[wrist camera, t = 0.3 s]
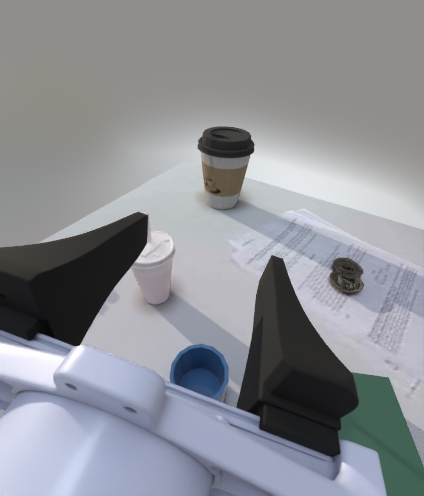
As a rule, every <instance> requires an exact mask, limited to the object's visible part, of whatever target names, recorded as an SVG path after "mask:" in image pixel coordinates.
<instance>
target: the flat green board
mask: <svg viewBox="0 0 424 496" xmlns="http://www.w3.org/2000/svg"><path fill="white" fill-rule="evenodd" d="M351 373H352V372H351ZM352 374H353V377H354V380H355V384H356V388H357V393H358V399H359V404H358V407H357V408H356V409H355V410H353V411H352V412H350V413H349V414H347V415H345V416H343V417H342V418H340V420H341V430H338V437H339V440H348V441H351V442H354V443H356V444H359V445H362V446H364V447H367V448H370V449H372V450H375V451H376V452H377V453H378V455H379V460H380V465H381V470H382V475H383V479H384V484H385V489H386V494H387V496H424V467H423V464H422V462H421V459H420V456H419V454H418V451H417V449H416V446H415V444H414V441H413V439H412V436H411V434H410V431H409V428H408V426H407V423H406V421H405V418H404V416H403V413H402V411H401V408H400V405H399V403H398V400H397V398H396V395H395V393H394V390H393V388H392V385H391V383H390V380H389V378H387V377H380V376H373V375H366V374H359V373H352Z"/></svg>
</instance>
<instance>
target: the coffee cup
mask: <svg viewBox="0 0 424 496" xmlns="http://www.w3.org/2000/svg"><path fill="white" fill-rule="evenodd" d="M198 143H199V144H198V149H199V150H200V151H201V158H202V168H203V177H204V186H205V196H206V200H207V203H208V205H209V206H211V207H212V208H215V209H220V210H226V209H231V208H233V207H234V206H235V205H236V203H237V202H238V199H239V195H240V191H241V188H242V184H243V180H244V177H245V173H246V169H247V166H248V162H249V158H250V154H252V153H253V152H254V143H253V141H252V140H251V135H250V133H249V132H247V131H245V130H242V129H239V128H235V127H213V128H209V129H206V130H205V131H204V132H203V136H202V137H201V138H200V139H199V141H198Z"/></svg>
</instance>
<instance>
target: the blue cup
mask: <svg viewBox="0 0 424 496" xmlns="http://www.w3.org/2000/svg"><path fill="white" fill-rule="evenodd" d="M170 383H172V384H175V385H178V386H180V387H183V388H186V389H188V390H191V391H194V392H196V393H199V394H201V395H204V396H207V397H209V398H212V399H215V400H217V401H220V402H222V403H223V401H224V399H225V394H226V390H227V385H228V365H227V363H226V361H225V359H224V357H223V355H222V354H221V353H219V352H218V351H217V350H216V349H215V348H214V347H211V346H207V345H203V344H198V345H192V346H189V347H187V348H186V349H184V350H183V351H181V352H179V354H178V355H177V357H176V358H175V360H174V361H173V363H172V365H171V372H170Z"/></svg>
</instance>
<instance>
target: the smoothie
mask: <svg viewBox="0 0 424 496" xmlns="http://www.w3.org/2000/svg"><path fill="white" fill-rule="evenodd" d="M143 214H146V215H148V212H143ZM174 254H175V245H174V240H173V239H172V237H171V236H170V235H168V234H166V233H164V232H161V231H156V230H150V224H149V217H148V238H147V244H146V246H145V248H144V249H143V251H142V253H141V254H140V256H139V257H138V259H137V260H136V261H135V262H134V264H133V265H132V266H131V269H132V271H133V273H134V276H135V278H136V280H137V282H138V284H139V287H140V289H141V291H142V293H143V296H144V298H145V300H146V301H147V302H148V303H150V304H154V305H156V304H161V303H163V302H165V301H166V300H167V299H168V297H169V294H170V282H171V269H172V258H173V256H174Z"/></svg>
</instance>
